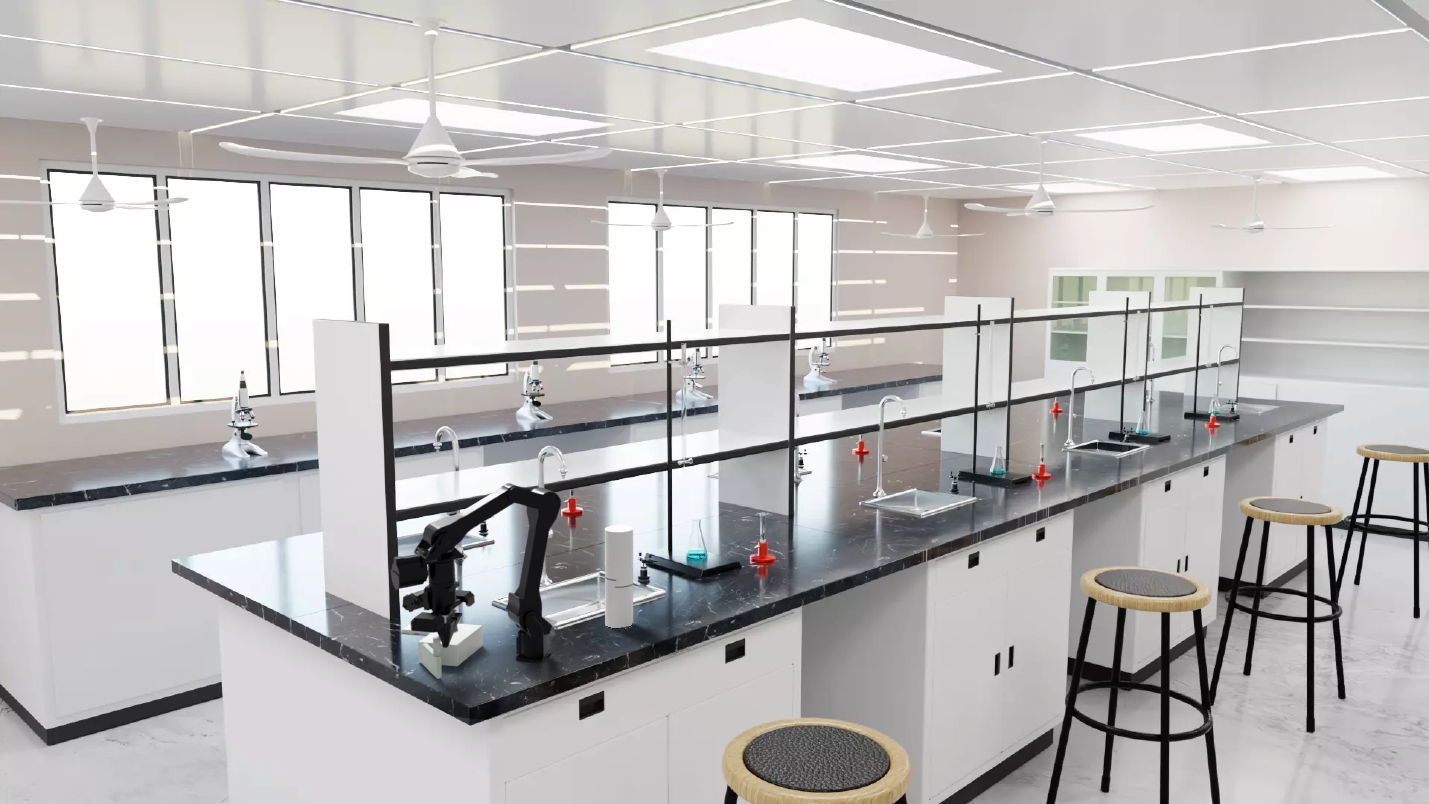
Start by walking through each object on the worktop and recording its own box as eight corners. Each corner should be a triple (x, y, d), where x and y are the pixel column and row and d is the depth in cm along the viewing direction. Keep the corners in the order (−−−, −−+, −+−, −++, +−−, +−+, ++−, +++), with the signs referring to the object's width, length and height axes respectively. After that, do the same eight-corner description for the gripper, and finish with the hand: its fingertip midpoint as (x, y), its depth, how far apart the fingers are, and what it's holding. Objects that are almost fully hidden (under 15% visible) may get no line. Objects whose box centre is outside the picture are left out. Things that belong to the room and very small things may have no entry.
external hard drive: (453, 621, 260) (431, 637, 248) (424, 619, 262) (401, 635, 250) (453, 615, 260) (431, 631, 248) (424, 613, 262) (401, 628, 249)
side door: (442, 677, 221) (442, 638, 220) (435, 678, 220) (434, 640, 219) (428, 663, 229) (427, 625, 228) (421, 664, 228) (420, 627, 227)
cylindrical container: (613, 618, 262) (612, 524, 259) (637, 621, 259) (637, 526, 256) (600, 626, 255) (599, 530, 252) (625, 630, 253) (625, 533, 250)
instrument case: (482, 645, 241) (482, 623, 241) (457, 666, 228) (456, 642, 227) (445, 642, 243) (445, 620, 242) (418, 663, 230) (418, 639, 229)
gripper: (429, 564, 231) (432, 628, 233) (386, 591, 213) (390, 661, 216) (474, 567, 229) (477, 632, 231) (434, 595, 211) (437, 665, 213)
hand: (445, 647), depth 223 cm, fingers closed
